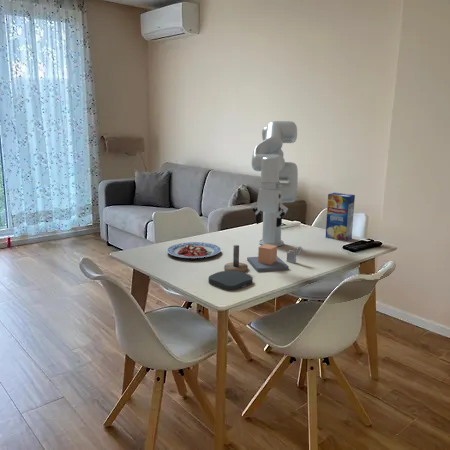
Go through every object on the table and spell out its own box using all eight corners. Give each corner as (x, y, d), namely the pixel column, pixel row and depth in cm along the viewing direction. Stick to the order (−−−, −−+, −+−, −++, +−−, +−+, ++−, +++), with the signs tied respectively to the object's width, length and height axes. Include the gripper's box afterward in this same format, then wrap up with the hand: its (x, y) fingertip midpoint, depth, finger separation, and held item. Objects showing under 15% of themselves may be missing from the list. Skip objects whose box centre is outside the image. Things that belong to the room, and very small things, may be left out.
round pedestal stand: (222, 266, 198) (222, 243, 196) (244, 264, 200) (244, 242, 198) (227, 273, 189) (227, 249, 186) (250, 272, 191) (250, 248, 188)
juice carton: (325, 237, 248) (327, 194, 243) (331, 234, 254) (334, 192, 248) (345, 241, 241) (349, 196, 235) (351, 238, 246) (355, 194, 241)
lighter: (286, 261, 206) (287, 244, 204) (288, 260, 207) (289, 243, 206) (299, 264, 202) (300, 247, 200) (301, 263, 203) (302, 246, 201)
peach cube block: (264, 258, 204) (264, 243, 203) (276, 261, 201) (277, 246, 200) (258, 262, 199) (258, 247, 198) (270, 264, 196) (270, 249, 195)
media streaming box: (204, 283, 179) (204, 275, 178) (230, 274, 189) (230, 267, 188) (230, 293, 169) (230, 285, 168) (256, 283, 179) (256, 276, 178)
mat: (247, 260, 207) (247, 257, 206) (276, 258, 210) (276, 255, 209) (257, 271, 192) (257, 268, 191) (288, 269, 195) (288, 266, 194)
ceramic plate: (155, 256, 212) (155, 250, 211) (185, 243, 234) (185, 238, 233) (203, 265, 200) (203, 258, 200) (230, 250, 223) (230, 244, 222)
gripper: (292, 186, 191) (290, 225, 196) (256, 182, 200) (255, 220, 205) (284, 189, 185) (283, 229, 189) (247, 185, 194) (246, 223, 198)
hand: (268, 224), depth 197 cm, fingers open, 9 cm apart
